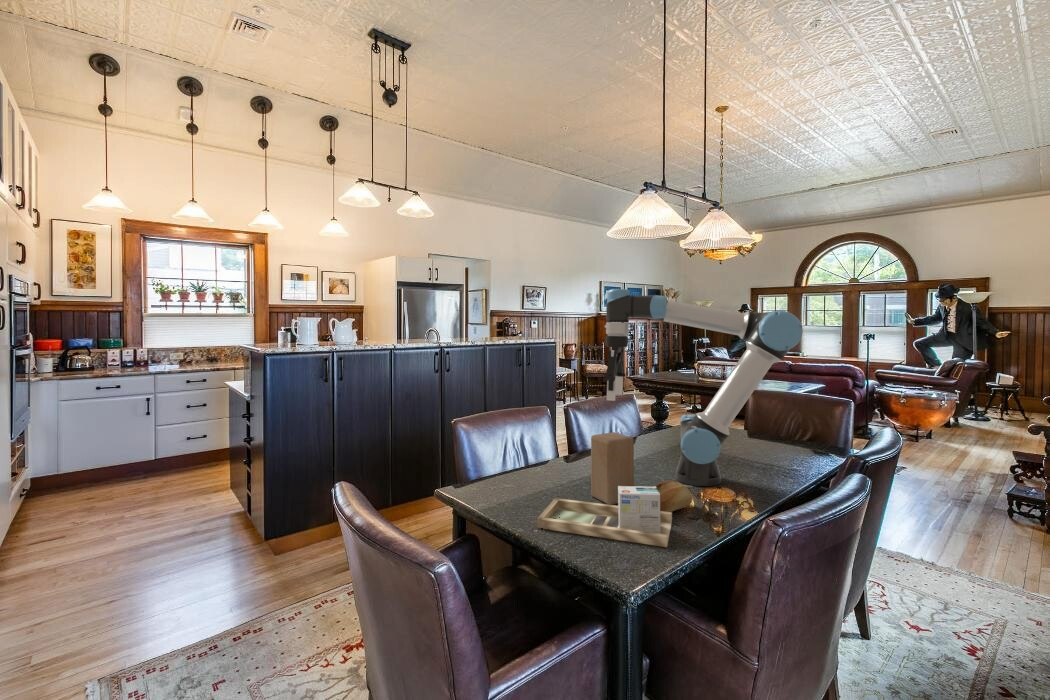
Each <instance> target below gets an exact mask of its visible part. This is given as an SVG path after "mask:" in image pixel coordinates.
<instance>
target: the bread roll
mask: <svg viewBox="0 0 1050 700" xmlns="http://www.w3.org/2000/svg"><path fill="white" fill-rule="evenodd" d="M655 486H656V488H657V490H658V492H659V493H660V511H665V512H672V513H673V512H676V511H677V510H680V509H683V508H687V507H689V506H690V505H691V504H692V502H693V496H692V493H691V492H690V490H689V488H688V487H687V486H686V485H683V483H681V482H678V481H677V480H663V481H661V482H658V483H657V484H656V485H655Z"/></svg>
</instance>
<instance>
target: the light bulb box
mask: <svg viewBox="0 0 1050 700" xmlns="http://www.w3.org/2000/svg"><path fill="white" fill-rule="evenodd" d="M617 506H618V524H619V528H623V529H630V530H637V531H644V532H652V533H659V534H660V493H659V492H658V490H657V488H656V485H655V486H650V485H649V486H648V485H647V486H643V485H642V486H641V485H640V486H639V485H638V486H636V485H635V486H618V503H617Z"/></svg>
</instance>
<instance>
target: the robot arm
mask: <svg viewBox="0 0 1050 700" xmlns="http://www.w3.org/2000/svg"><path fill="white" fill-rule="evenodd" d="M606 297H607V298H606V308H605V309H606V310H605V311H606V314H605V316H606V317H605V318H606V319H605V320H606V321H605V322H606V323H605V325H604V328H605V334H606V336H605V343H604V344H605V347H608V348H610V350H608V359H607V366H606V367H607V368H606V374H605V377H604V381H606V401H612V402H616V395H617V396H623V390H624V389H623V388H624V377H626V373H625V364H624V362H625V360H624V348H627V347H628V346H629V336H627V335H629V329H630V322H629V321H630V318H631V319H634V318H635V319H648V320H654V321H660V322H666V323H671V324H675V325H681V326H687V327H692V328H698V329H703V330H708V331H713V332H719V333H725V334H729V335H735V336H738V337H739V338H740V339H741V340H745V345H746V350H745V351H744V352H743V354H742V355H741V357H740V358H739V360H738V361H737V362H736V364H735V365H734V367H733V368H732V370H731V371H730V373H729V374H728V375H727V376H726V379H724V381H723V383H722V384H721V385H720V388H719V389H718V391H716V393H715V394H714V396H713V398H711V400H710V402H709V403H708V405H707V407H706V408H705V409H704V410H703V411H702V412H697V413H695V414H693V413H692V414H691V413H690V414H682V415H681V418H680V422H679V423H680V441H679V444H680V458H679V461H678V463H677V467H676V470H675V480H676V481H677V482H679V483H681V484H685V485H690V486H695V487H697V486H698V487H714V486H718V485H720V484H721V483H722V475H721V472H720V468H719V465H718V462H717V458H718V457H719V455H720V453H721V449H722V446H723V445H724V444H725V442H726V440H727V439H728V437H730V429H729V427H730V425H731V424H732V423H733V422H734V420H735V419H736V416H737V415H738V414H739V413H740V411H741V410H742V408H743V407H744V405H746V403H747V401H748V400H749V399H750V397H751V395H752V394H753V393H754V392H755V390H756V389H757V387H758V386H759V384H760V383H761V381H762V380H763V379H764V377H765V375H766V374H767V373H768V372H769V370H770V368H771V367H772V366H773V364H776V363H780V362H782V361H783V359H785V357H786V355H787V354H788V353H789V351H790V350H791V349H793V348H794V347H796V346H797V345H798V344H799V342H800V341H801V339H802V337H803V332H804V330H803V325H802V323H801V321H800V319H799V318H798V317H797V316H796V315H795V314H793V313H791V312H789V311H786V310H780V309H779V310H772V311H768V312H757V311H749V310H747V311H746V312H737V311H731V310H725V309H719V308H714V307H709V306H704V305H703V306H702V305H698V304H691V303H685V302H679V301H673V300H667V297H666V296H665V295H657V294H655V295H649V294H648V295H634V294H633V295H632V294H631V290H630V289H625V288H612V289H609V290H608V291H607V296H606Z"/></svg>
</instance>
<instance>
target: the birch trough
mask: <svg viewBox="0 0 1050 700" xmlns="http://www.w3.org/2000/svg"><path fill="white" fill-rule="evenodd" d="M559 508H560V509H562V510H559ZM565 509H566V510H565ZM557 510H558V511H557ZM559 511H560V512H559ZM557 513H558V514H557ZM556 514H557V515H556ZM559 514H560V515H559ZM553 515H556V516H554V518H556V519H553V518H551V517H552V516H553ZM559 517H560V518H559ZM672 521H673V511H672V512H665V511H660V534H659V533H652V532H644V531H637V530H630V529H623V528H619V524H618V505H616V504H612V505H608V504H606V503H599V502H592V501H591V502H590V501H582V500H574V499H565V498H557V497H555V498H554V499H553V500H552V501H551V502H550V503H549V504H548V506H547V507H546V508H545V509H544V510H543V511H542V512H541V514H540V515H539V516H538V517H537V518H536V529H541V528H543V530H548V529H549V530H550V531H557V532H563V533H569V534H575V535H576V534H577V535H583V536H587V537H588V536H591V537H595V538H596V537H597V538H603V539H609V540H610V539H611V540H615V541H623V542H629V543H635V544H643V545H649V546H650V545H651V546H657V547H664V548H668V545H669V544H668V543H669V539H670V533H671V527H672Z"/></svg>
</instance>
